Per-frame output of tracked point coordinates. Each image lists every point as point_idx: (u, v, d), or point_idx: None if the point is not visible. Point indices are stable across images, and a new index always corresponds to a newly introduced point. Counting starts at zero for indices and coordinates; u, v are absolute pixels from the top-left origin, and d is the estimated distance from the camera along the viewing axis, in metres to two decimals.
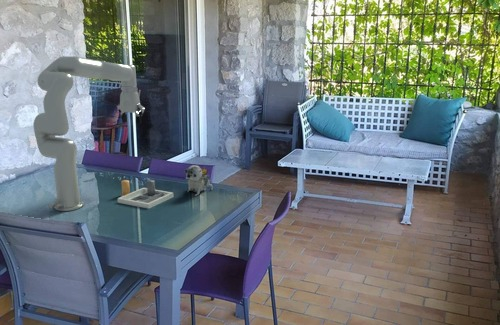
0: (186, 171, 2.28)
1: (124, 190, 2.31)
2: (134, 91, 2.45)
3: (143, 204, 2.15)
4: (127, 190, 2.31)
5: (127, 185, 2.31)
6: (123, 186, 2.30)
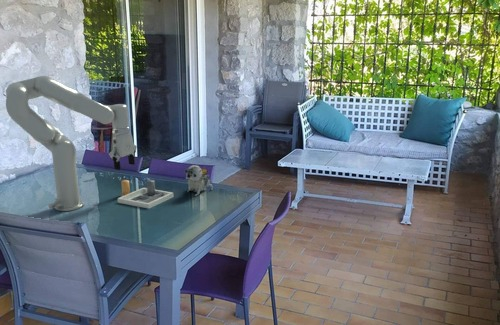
0: (186, 171, 2.28)
1: (124, 190, 2.31)
2: None
3: (143, 204, 2.15)
4: (127, 190, 2.31)
5: (127, 185, 2.31)
6: (123, 186, 2.30)
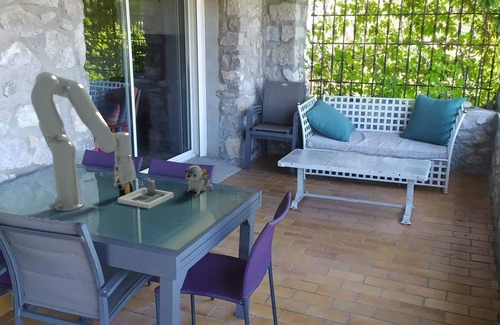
0: (186, 171, 2.28)
1: None
2: None
3: (143, 204, 2.15)
4: (127, 190, 2.31)
5: (127, 185, 2.31)
6: None
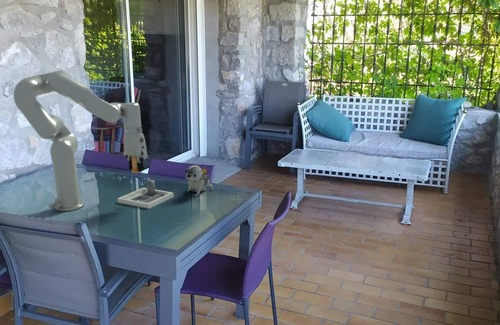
0: (186, 171, 2.28)
1: None
2: None
3: (143, 204, 2.15)
4: None
5: None
6: None
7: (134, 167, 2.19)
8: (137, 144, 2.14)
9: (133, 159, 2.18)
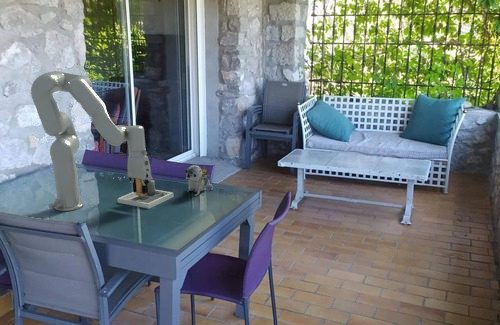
0: (186, 171, 2.28)
1: None
2: None
3: (143, 204, 2.15)
4: None
5: None
6: None
7: (138, 189, 2.20)
8: (142, 167, 2.15)
9: (137, 182, 2.19)
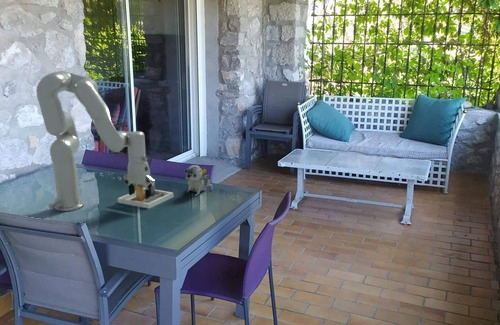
0: (186, 171, 2.28)
1: (143, 194, 2.22)
2: None
3: (143, 204, 2.15)
4: None
5: None
6: (143, 190, 2.21)
7: (138, 198, 2.21)
8: (142, 173, 2.16)
9: (137, 190, 2.20)
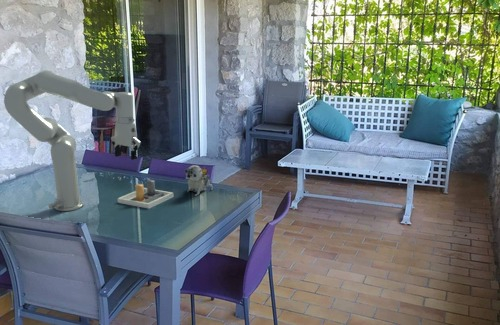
0: (186, 171, 2.28)
1: (143, 194, 2.22)
2: None
3: (143, 204, 2.15)
4: None
5: None
6: (143, 190, 2.21)
7: (138, 198, 2.21)
8: (128, 134, 2.15)
9: (137, 190, 2.20)
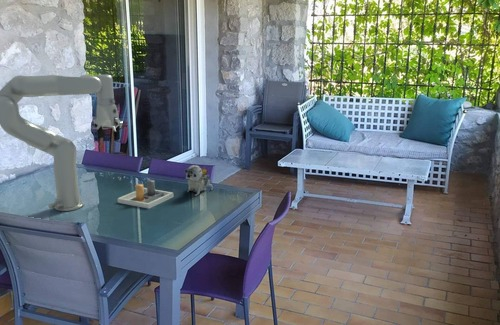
0: (186, 171, 2.28)
1: (143, 194, 2.22)
2: None
3: (143, 204, 2.15)
4: None
5: None
6: (143, 190, 2.21)
7: (138, 198, 2.21)
8: (110, 115, 2.21)
9: (137, 190, 2.20)
